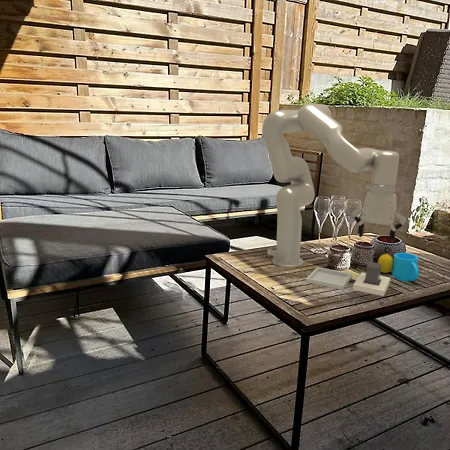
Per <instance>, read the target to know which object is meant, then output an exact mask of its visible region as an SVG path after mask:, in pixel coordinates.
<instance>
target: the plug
mask: <svg viewBox="0 0 450 450" xmlns="http://www.w3.org/2000/svg"><path fill="white" fill-rule="evenodd" d="M365 270H366V271H365V273H366V277H365V283H367V284H372V285H377V286H379V281H380V276H381V273H382V272H381V264H379V263H378V262H371V261H369V262H368V263H367V265H366V269H365Z"/></svg>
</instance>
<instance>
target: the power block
mask: <svg viewBox="0 0 450 450" xmlns="http://www.w3.org/2000/svg"><path fill="white" fill-rule="evenodd" d="M365 277H366V272H361V273H360V274H359V276H358V277H357V279H356V280H355V281H354V283H353V286H352V290H353V291H356V292H357V291H358V292H362V293H365V294H370V295H376V296H381V297H384V296H385V294H386V293H387V290H388V288H389V286H390V283H391V280H392V279H391V277H387V276H383V275H380V281H379V286H377V285H372V284H367V283H365Z"/></svg>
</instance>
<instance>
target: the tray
mask: <svg viewBox="0 0 450 450" xmlns="http://www.w3.org/2000/svg"><path fill="white" fill-rule="evenodd" d="M352 278H353V274H352V273H351V272H345V271H341V270H335V269H329V268H324V267H319V266H317V267H316V268H314V270H313V271H312V272H311V273H310V274H309V275H308V276H307V277H306V278H305V282H306V283H309V284H311V285H313V284H314V285H318V286H321V287H326V288H331V289H332V288H333V289H335V290H341V291H343V290H344V289H345V288H346V286H347V285H348V283H349V282H350V281H351V279H352Z"/></svg>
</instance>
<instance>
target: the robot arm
mask: <svg viewBox="0 0 450 450" xmlns="http://www.w3.org/2000/svg"><path fill="white" fill-rule="evenodd" d="M330 109H331V108H329V107H328V106H327V105H325V104H322V103H306V104H304V105H302V106H301V107H300V108H299V109H277V110H274V111H271V112H270V113H268V114H267V116H266V117H265V119H264V120H263V123H262V127H261V133H262V138H263V141H264V144H265V147H266V150H267V153H268V159H269V162H270V166H271V170H272V174H273V176H274V179H275V180H276V181H277V182H279V183H290V184H289V185H285V186H283V187H281V188H280V189H279V190H278V191H277V193H276V195H275V203H276V210H277V211H276V212H277V218H276V219H277V220H276V221H277V222H276V223H277V224H276V225H277V227H276V246H275V249H272V248H271V249H270V248H268V249H267V252H266V253H267V256H272V258H271V263H272V264H273V265H275V266H277V267H280V268H281V267H285V268H296V267H300V266H302V265H304V260H303V258H301V257H300V256H301V245H302V244H301V243H302V242H301V241H302V227H303V226H302V225H303V224H302V223H303V217H302V213H301V211H300V209H301V208H303V207H306V206H307V207H308V206H309V205H310V204H311V205H312V203H313V201H314V199H315V195H316V194H315V187H314V183H313V180H312V175H311V171H310V168H309V166H308V163H307V162H306V161H305V159H303V158H302V157H301V156H296V155H295V156H293V155H292V152H291V148H290V145H289V143H288V141H287V139H286V138H285V136H284V134H287V133H289V134H291V133H300V132H304V131H307V132H309V133H310V134H311V135H312V136H313V137H315V138H316V139H318V140H319V141H320V142H321V143H322V144H323V145H324V146H325V149H326V151H327V153H328V155H329V156H330V157H331V159H333V160H334V161H335V162H336V163H337V164H338V165H340V166H341V167H342V168H344V169H345V170H347V171H348V172H351V173H362V172H367V171H372V172H371V173H372V174H371V181H370V183H366V185H365V189H368V190H369V191H367V192H366V195H365V198H364V203H363V207H361V208H357V209H354V210H353V211H352V212H351V214H352V216H353V219H354V221H355V222H356V223H357V225H358V227H357V228H358V231H357V234H358V237H359V238H363V236H364V231H365V224H364V223H368V224H369V223H370V224H375V225H383V226H389V227H390V231H389V237H388V242H389V243H392V241H394V240H395V237H396V232H397V230H399V229H401V228H402V227H403V225H404V224H405V223H406V222H407V219H408V218H406V217H405V216H403V215H402V214H401V213H398V211H397V194H396V193H395V190H396V184H397V176H398V170H399V169H398V168H399V162H400V153H398V152H397V151H393V150H380V149H376V148H372V147H362V148H356V147H355V146H354V145H352V144H351V143H350V142H349V141H347V139H345V137H344V136H343V134H342V132H343V126H342V124H341V123H339V122H338V121H337V120H335V119H334V118H333V117H332V116H333V115H332V111H331V110H330ZM359 214H361V218H360V217H359ZM396 218H397V219H398V220H399V222H398V223H397V224H396V223H395V220H396Z"/></svg>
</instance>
